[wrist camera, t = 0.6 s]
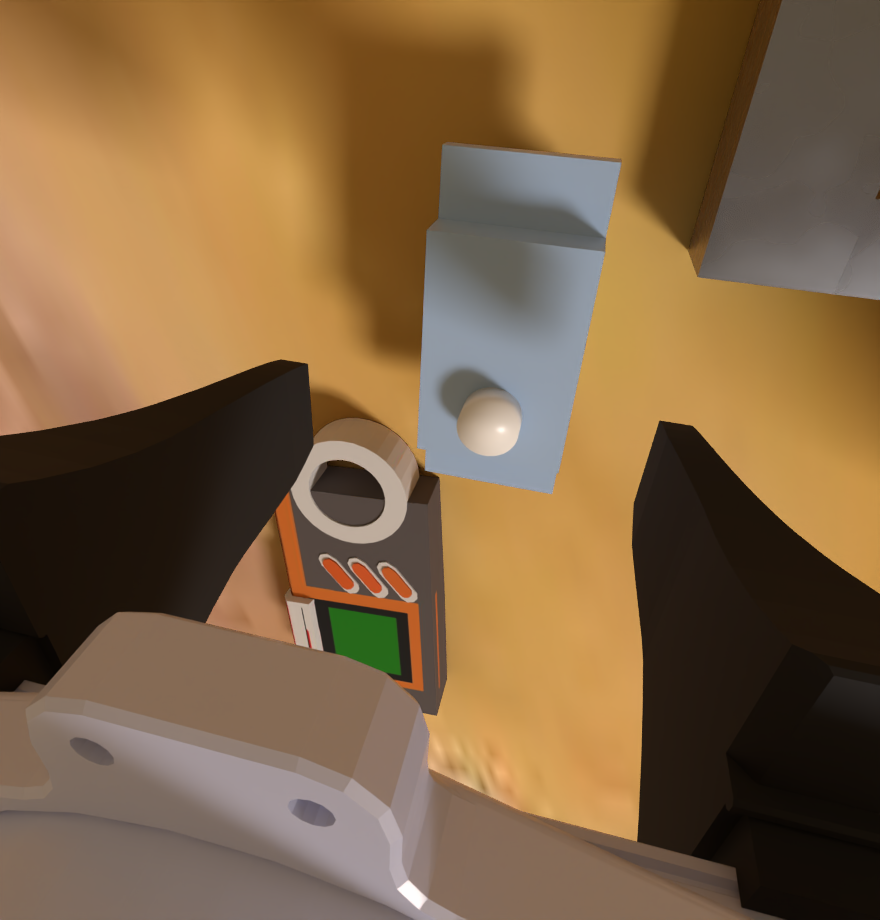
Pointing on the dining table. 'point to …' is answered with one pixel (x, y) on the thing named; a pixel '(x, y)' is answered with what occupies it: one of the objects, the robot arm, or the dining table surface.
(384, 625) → the electronic device
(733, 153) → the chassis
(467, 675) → the dining table surface
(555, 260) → the block
